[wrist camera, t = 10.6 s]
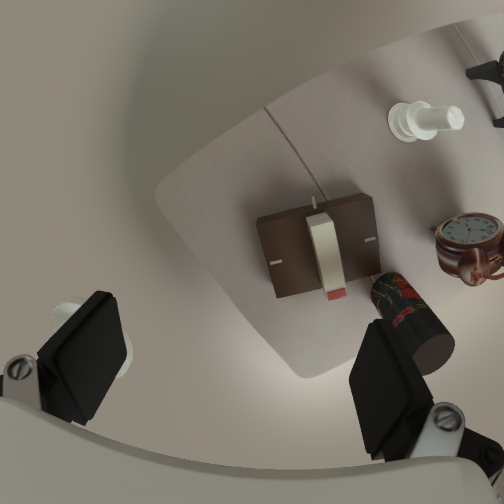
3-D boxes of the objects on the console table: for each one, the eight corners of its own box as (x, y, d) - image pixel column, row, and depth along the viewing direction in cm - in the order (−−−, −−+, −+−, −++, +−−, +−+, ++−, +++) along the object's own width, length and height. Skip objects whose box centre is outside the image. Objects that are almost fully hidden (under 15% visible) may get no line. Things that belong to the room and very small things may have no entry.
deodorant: (362, 293, 38) (399, 363, 24) (391, 264, 36) (443, 324, 22) (385, 314, 39) (422, 382, 25) (412, 287, 37) (461, 348, 23)
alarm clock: (470, 203, 32) (538, 235, 18) (474, 232, 33) (536, 271, 19) (417, 227, 34) (481, 272, 20) (422, 257, 35) (479, 310, 21)
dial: (305, 217, 31) (310, 227, 27) (325, 211, 31) (333, 221, 27) (321, 285, 34) (327, 302, 30) (340, 280, 34) (348, 297, 30)
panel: (279, 297, 39) (279, 309, 36) (253, 206, 34) (251, 211, 31) (375, 273, 37) (382, 284, 34) (361, 180, 32) (370, 183, 29)
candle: (380, 124, 29) (429, 117, 18) (399, 94, 28) (450, 78, 16) (410, 150, 30) (465, 156, 19) (428, 121, 28) (484, 118, 17)
